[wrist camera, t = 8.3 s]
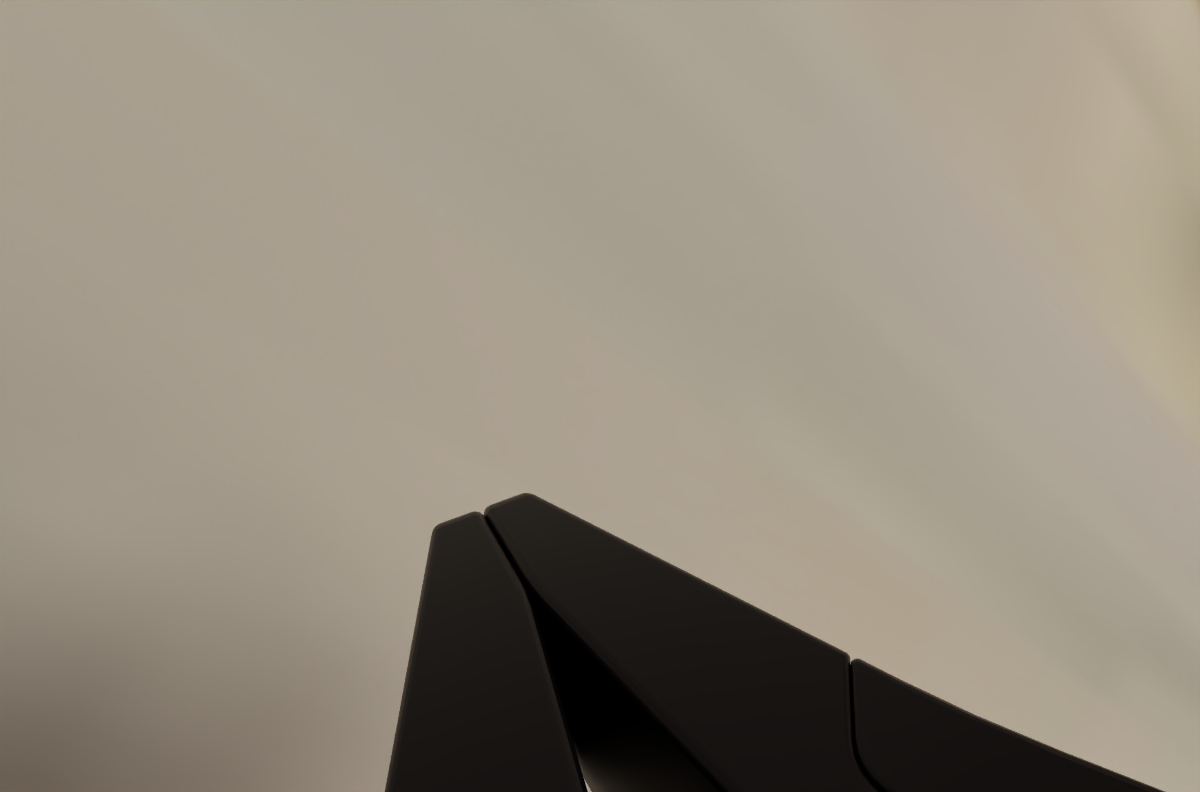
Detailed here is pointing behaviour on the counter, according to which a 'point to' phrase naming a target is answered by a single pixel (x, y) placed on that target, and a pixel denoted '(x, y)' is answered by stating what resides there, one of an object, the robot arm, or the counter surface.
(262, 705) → the counter surface
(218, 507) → the counter surface
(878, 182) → the counter surface
